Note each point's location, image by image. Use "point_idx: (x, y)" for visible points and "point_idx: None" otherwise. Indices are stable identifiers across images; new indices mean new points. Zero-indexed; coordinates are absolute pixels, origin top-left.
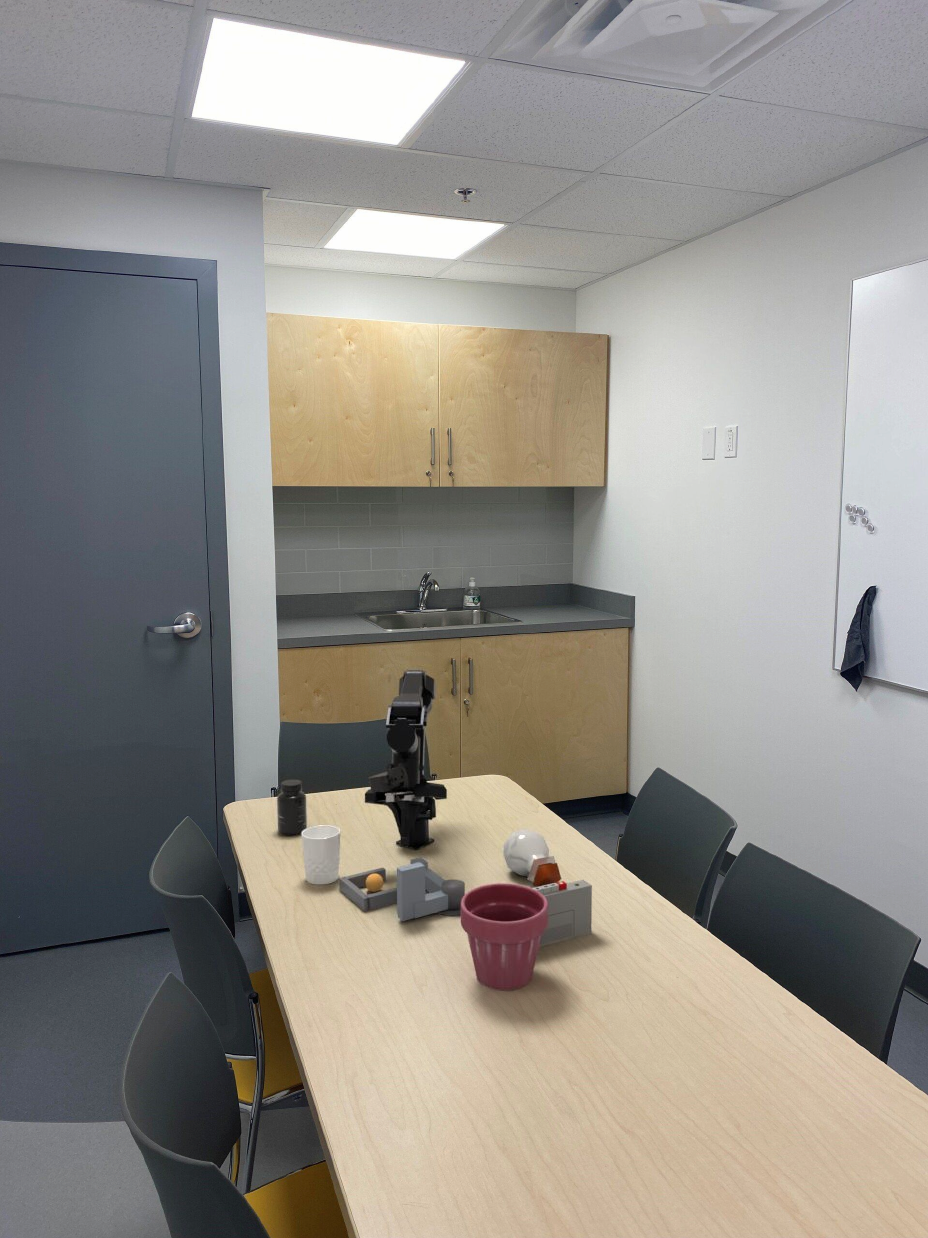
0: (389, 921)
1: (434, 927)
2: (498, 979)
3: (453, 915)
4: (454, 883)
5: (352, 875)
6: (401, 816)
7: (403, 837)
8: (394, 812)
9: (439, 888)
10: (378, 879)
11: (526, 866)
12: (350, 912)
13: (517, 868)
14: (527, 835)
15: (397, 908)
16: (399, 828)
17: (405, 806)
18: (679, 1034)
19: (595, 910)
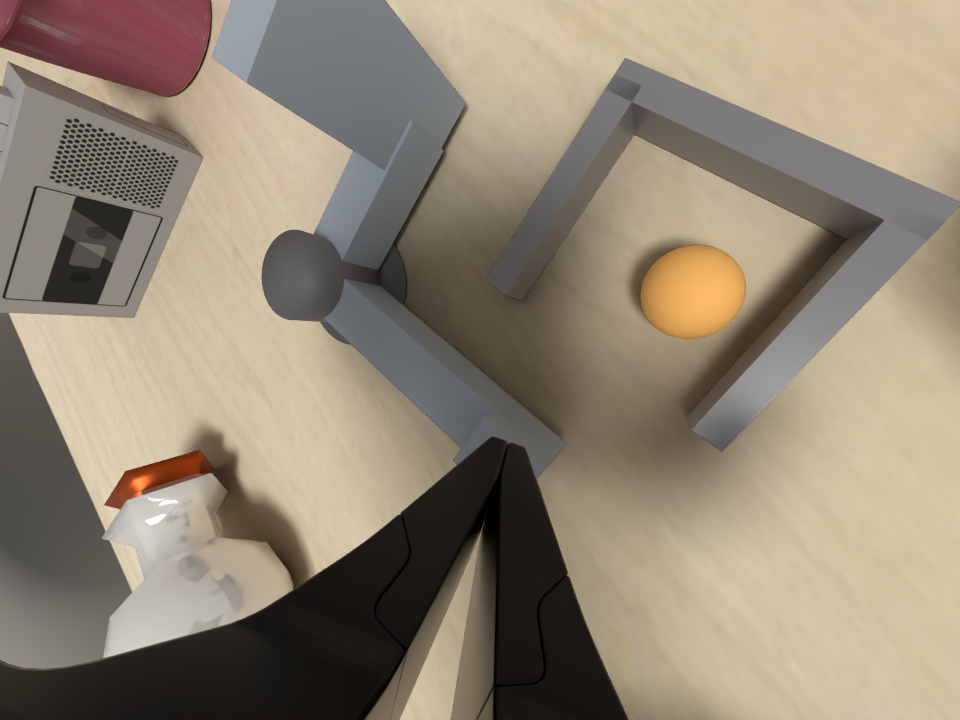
0: (496, 90)
1: None
2: None
3: None
4: (290, 283)
5: (874, 280)
6: (434, 576)
7: (495, 439)
8: (582, 716)
9: (367, 293)
10: (655, 273)
11: (205, 532)
12: (690, 53)
13: (244, 542)
14: (111, 646)
15: (448, 82)
16: (520, 492)
17: (169, 641)
18: (10, 61)
19: (134, 401)
